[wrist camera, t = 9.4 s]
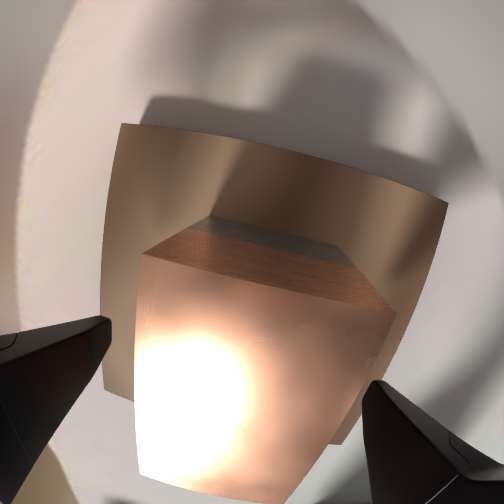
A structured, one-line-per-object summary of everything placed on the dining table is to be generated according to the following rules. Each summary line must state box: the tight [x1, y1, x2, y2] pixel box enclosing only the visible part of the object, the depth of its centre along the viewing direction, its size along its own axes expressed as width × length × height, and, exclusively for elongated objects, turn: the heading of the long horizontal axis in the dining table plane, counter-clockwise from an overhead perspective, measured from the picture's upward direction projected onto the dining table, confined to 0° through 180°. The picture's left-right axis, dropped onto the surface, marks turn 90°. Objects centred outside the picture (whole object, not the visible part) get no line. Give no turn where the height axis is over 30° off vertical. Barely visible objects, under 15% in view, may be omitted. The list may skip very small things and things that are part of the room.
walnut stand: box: [100, 123, 448, 445], centre depth 13 cm, size 14×14×2 cm
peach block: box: [134, 215, 397, 504], centre depth 9 cm, size 8×5×6 cm, turn 167°
